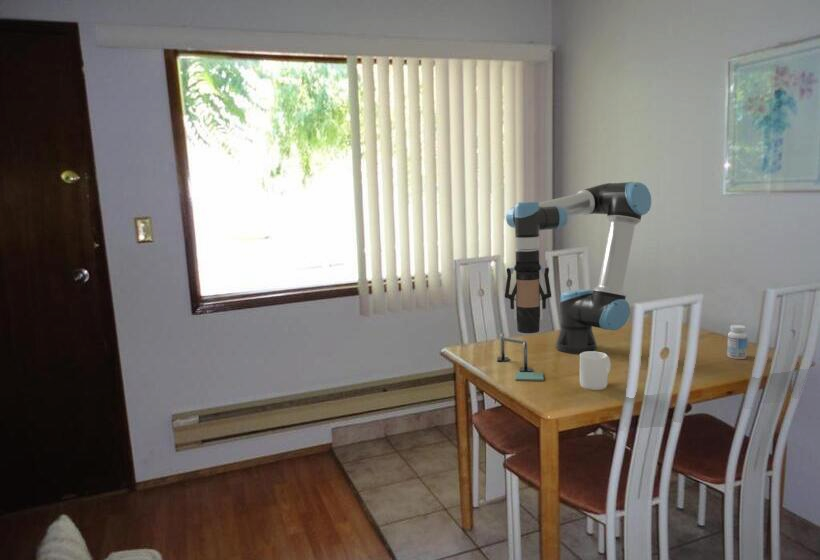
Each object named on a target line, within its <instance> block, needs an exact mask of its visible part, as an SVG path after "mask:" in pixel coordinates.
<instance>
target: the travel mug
mask: <svg viewBox="0 0 820 560" xmlns="http://www.w3.org/2000/svg"><path fill="white" fill-rule="evenodd" d="M516 282H517V292H516V295H515V299H516V318H517V320H516V328H517V332H518V333H522V334H536V333H539V332H540V321H541V319H540V298H541V295H540V292H539V283H540V271H539V272H533V273H520V272H516V271H515V283H516ZM540 284H541V283H540Z"/></svg>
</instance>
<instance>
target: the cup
mask: <svg viewBox="0 0 820 560" xmlns="http://www.w3.org/2000/svg"><path fill="white" fill-rule="evenodd" d="M610 371H611V359H610V357H609V356H608V355H607V354H606V353H605V352H601V351H597V350H595V351H587V352H582V353H579V385H580V386H581V388H583V389H586V390H591V391H601V390H604V389H606V388H607V387H608V375H609V373H610Z"/></svg>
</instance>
